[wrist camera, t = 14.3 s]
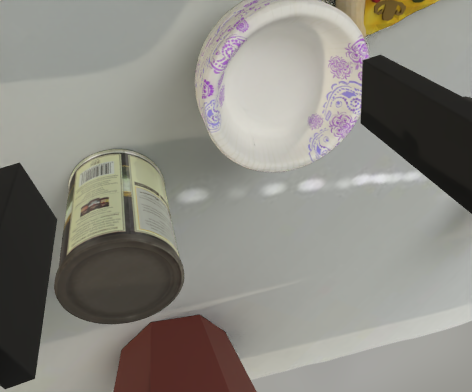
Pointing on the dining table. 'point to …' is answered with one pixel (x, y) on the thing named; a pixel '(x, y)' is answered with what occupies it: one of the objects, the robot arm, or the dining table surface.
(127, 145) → the dining table surface
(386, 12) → the pizza slice
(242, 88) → the paper bowls
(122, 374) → the bucket
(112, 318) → the coffee can
